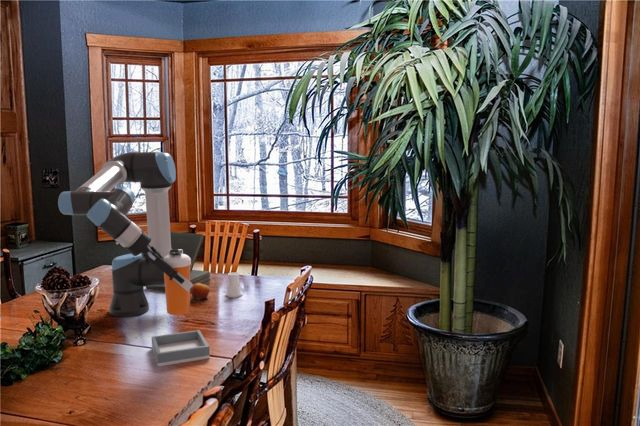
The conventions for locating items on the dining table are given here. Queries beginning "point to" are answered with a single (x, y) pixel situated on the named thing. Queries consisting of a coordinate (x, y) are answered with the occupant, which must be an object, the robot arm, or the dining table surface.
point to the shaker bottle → (174, 292)
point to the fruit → (200, 291)
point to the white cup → (233, 285)
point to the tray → (180, 348)
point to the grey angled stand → (191, 248)
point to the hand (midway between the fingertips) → (187, 284)
